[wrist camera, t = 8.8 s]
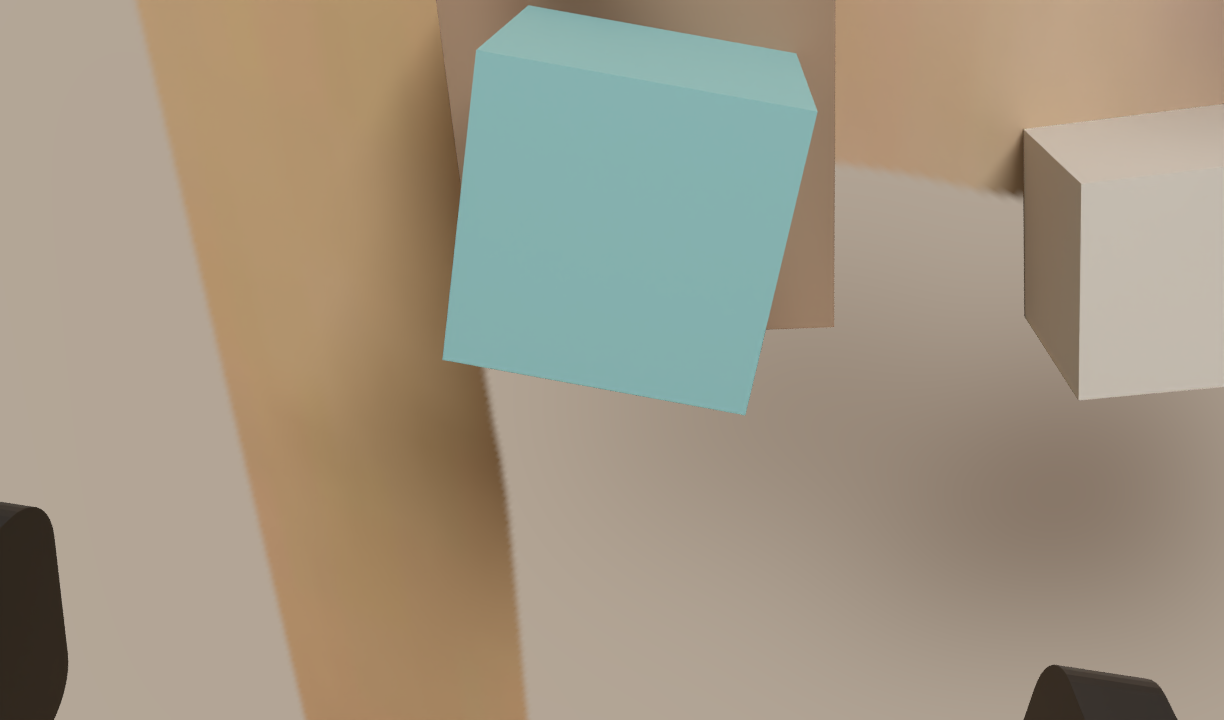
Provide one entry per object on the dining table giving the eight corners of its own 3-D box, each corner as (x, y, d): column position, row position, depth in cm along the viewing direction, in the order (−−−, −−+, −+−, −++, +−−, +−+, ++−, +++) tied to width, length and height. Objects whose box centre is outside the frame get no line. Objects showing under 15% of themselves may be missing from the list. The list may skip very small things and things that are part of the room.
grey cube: (1238, 100, 27) (1342, 152, 23) (1226, 294, 29) (1318, 377, 25) (1022, 128, 28) (1081, 183, 24) (1024, 315, 30) (1078, 400, 26)
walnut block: (815, -72, 27) (835, -54, 22) (816, 253, 30) (834, 326, 25) (479, -47, 28) (432, -25, 23) (516, 266, 31) (481, 339, 26)
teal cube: (796, 53, 23) (817, 111, 18) (740, 302, 25) (744, 414, 20) (528, 5, 23) (475, 49, 18) (496, 258, 25) (442, 360, 20)
